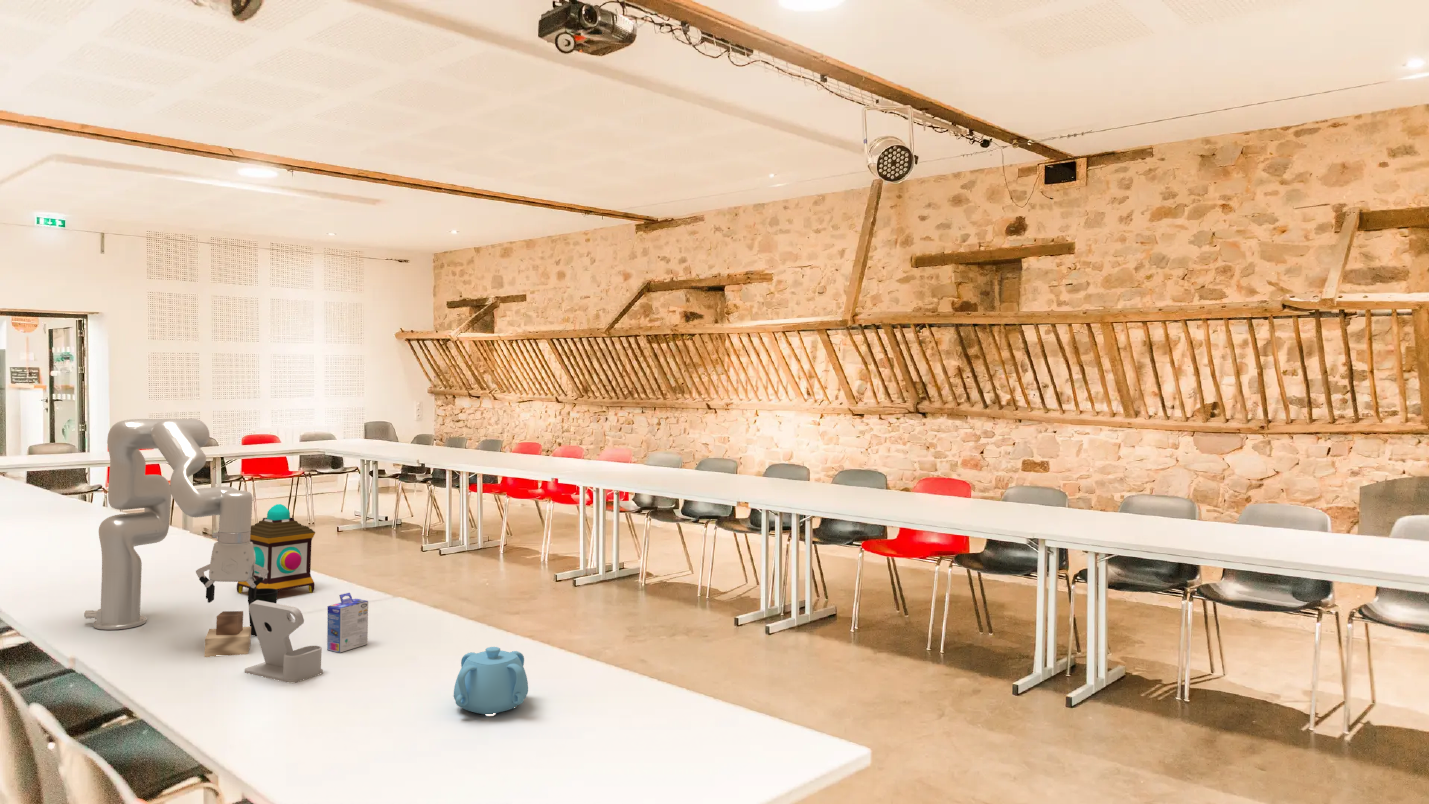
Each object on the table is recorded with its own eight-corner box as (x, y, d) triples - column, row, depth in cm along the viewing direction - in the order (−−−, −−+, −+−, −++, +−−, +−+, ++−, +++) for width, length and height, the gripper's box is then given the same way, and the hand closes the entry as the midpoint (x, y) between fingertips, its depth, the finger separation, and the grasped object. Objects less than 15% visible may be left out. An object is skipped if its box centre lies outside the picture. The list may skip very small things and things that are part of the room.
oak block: (204, 658, 230) (205, 639, 230) (208, 647, 239) (209, 629, 239) (248, 655, 234) (248, 636, 234) (250, 644, 243) (251, 626, 243)
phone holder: (326, 672, 222) (329, 600, 222) (292, 684, 213) (295, 609, 212) (275, 661, 229) (278, 591, 228) (241, 672, 219) (243, 599, 219)
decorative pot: (522, 721, 196) (525, 659, 195) (447, 720, 194) (450, 658, 194) (530, 695, 212) (532, 638, 212) (460, 695, 210) (463, 637, 210)
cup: (263, 638, 248) (265, 595, 248) (239, 635, 249) (241, 592, 249) (282, 631, 255) (284, 589, 255) (259, 628, 257) (260, 587, 257)
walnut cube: (216, 635, 233) (216, 616, 233) (222, 630, 238) (222, 611, 238) (236, 634, 235) (237, 615, 234) (242, 629, 239) (243, 611, 239)
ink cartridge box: (353, 641, 249) (355, 589, 248) (368, 644, 246) (370, 592, 246) (324, 650, 240) (326, 596, 240) (340, 653, 237) (341, 599, 237)
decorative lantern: (320, 592, 302) (323, 504, 302) (264, 603, 286) (267, 509, 285) (286, 583, 313) (289, 498, 313) (230, 593, 296) (233, 503, 296)
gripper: (193, 539, 231) (190, 605, 231) (266, 541, 235) (262, 605, 236) (202, 534, 238) (199, 597, 239) (273, 535, 242) (269, 598, 243)
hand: (230, 601), depth 237 cm, fingers open, 9 cm apart
